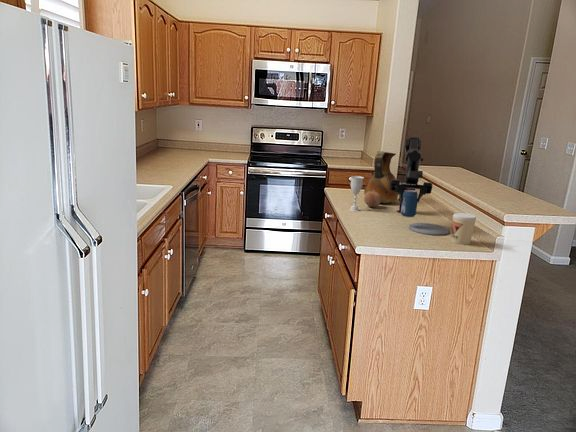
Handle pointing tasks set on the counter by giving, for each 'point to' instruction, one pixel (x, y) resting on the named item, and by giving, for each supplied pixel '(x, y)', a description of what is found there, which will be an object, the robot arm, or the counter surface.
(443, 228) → the rubber mat
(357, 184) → the chalice
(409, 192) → the soda can
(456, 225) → the coffee cup
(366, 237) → the counter surface
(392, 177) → the ceramic pitcher
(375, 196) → the onion
